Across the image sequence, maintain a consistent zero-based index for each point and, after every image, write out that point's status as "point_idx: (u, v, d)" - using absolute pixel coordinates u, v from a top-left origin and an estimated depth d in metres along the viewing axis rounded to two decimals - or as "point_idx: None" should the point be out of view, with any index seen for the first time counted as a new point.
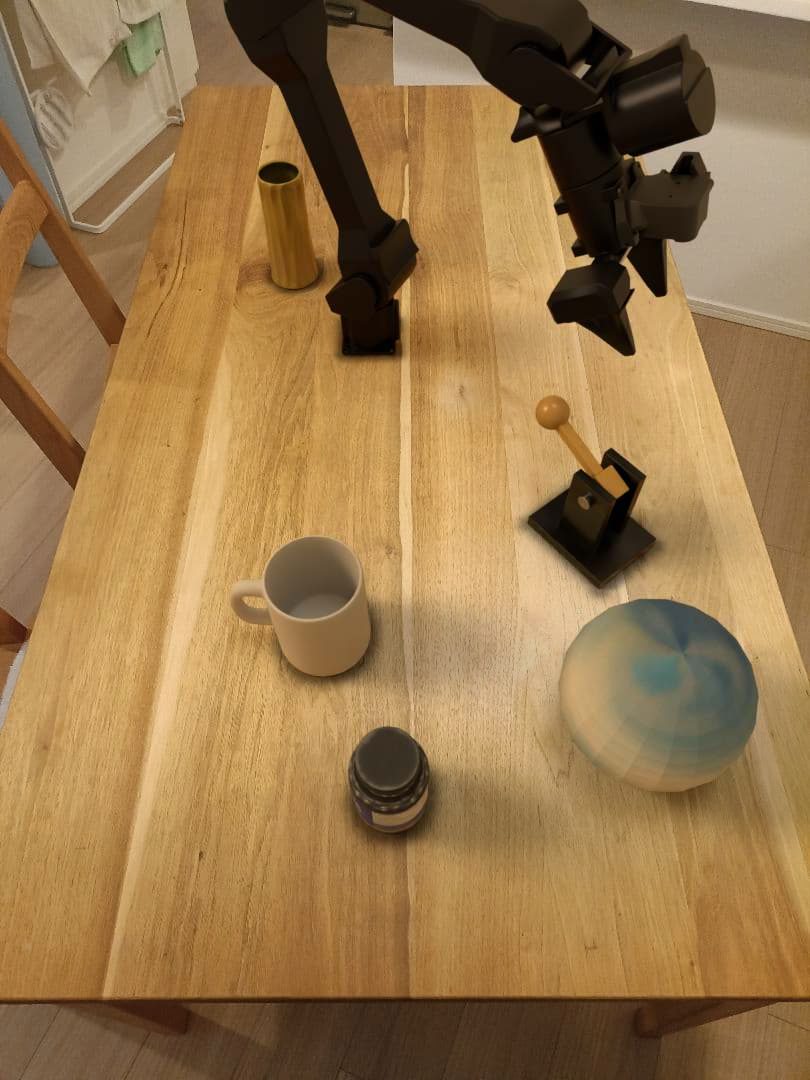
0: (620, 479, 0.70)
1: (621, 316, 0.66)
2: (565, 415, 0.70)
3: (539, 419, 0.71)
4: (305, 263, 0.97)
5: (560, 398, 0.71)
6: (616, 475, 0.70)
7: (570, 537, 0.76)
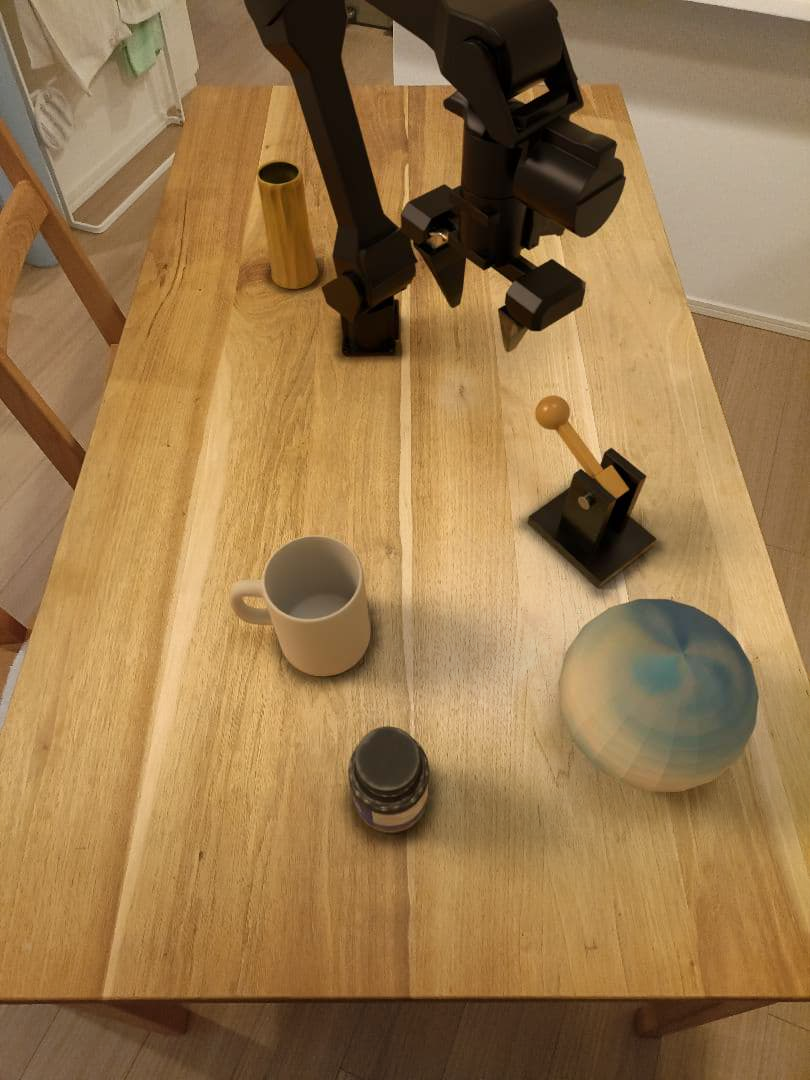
0: (620, 479, 0.70)
1: None
2: (565, 415, 0.70)
3: (539, 419, 0.71)
4: (305, 263, 0.97)
5: (560, 398, 0.71)
6: (616, 475, 0.70)
7: (570, 537, 0.76)
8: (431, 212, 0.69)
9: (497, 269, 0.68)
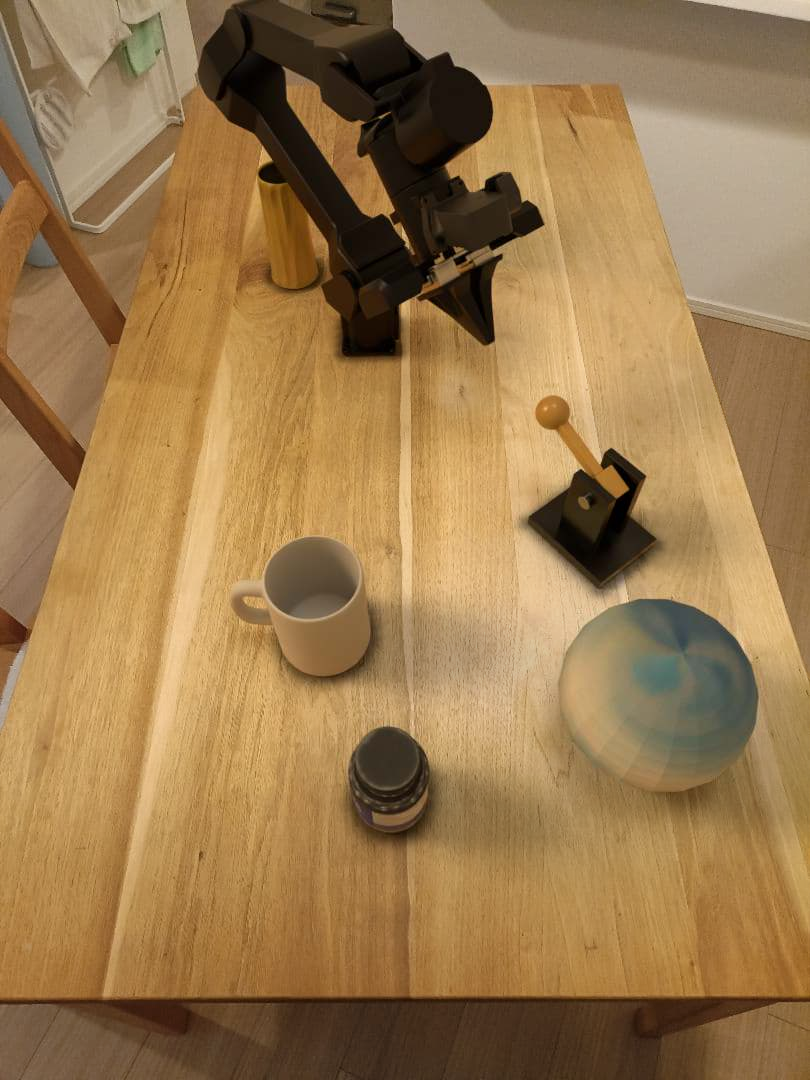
0: (620, 479, 0.70)
1: (461, 298, 0.70)
2: (565, 415, 0.70)
3: (539, 419, 0.71)
4: (305, 263, 0.97)
5: (560, 398, 0.71)
6: (616, 475, 0.70)
7: (570, 537, 0.76)
8: None
9: None
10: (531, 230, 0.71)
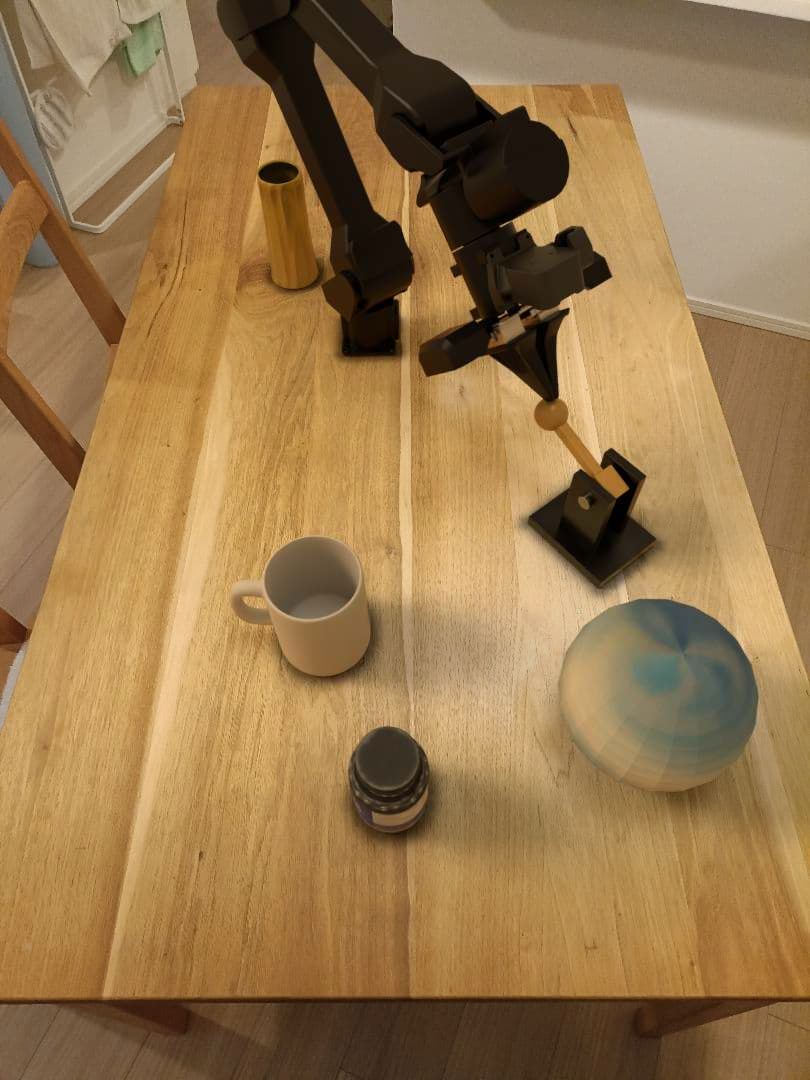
0: (620, 479, 0.70)
1: (525, 355, 0.67)
2: (564, 416, 0.71)
3: (538, 420, 0.71)
4: (305, 263, 0.97)
5: (558, 399, 0.71)
6: (616, 475, 0.70)
7: (570, 537, 0.76)
8: None
9: None
10: (599, 283, 0.68)
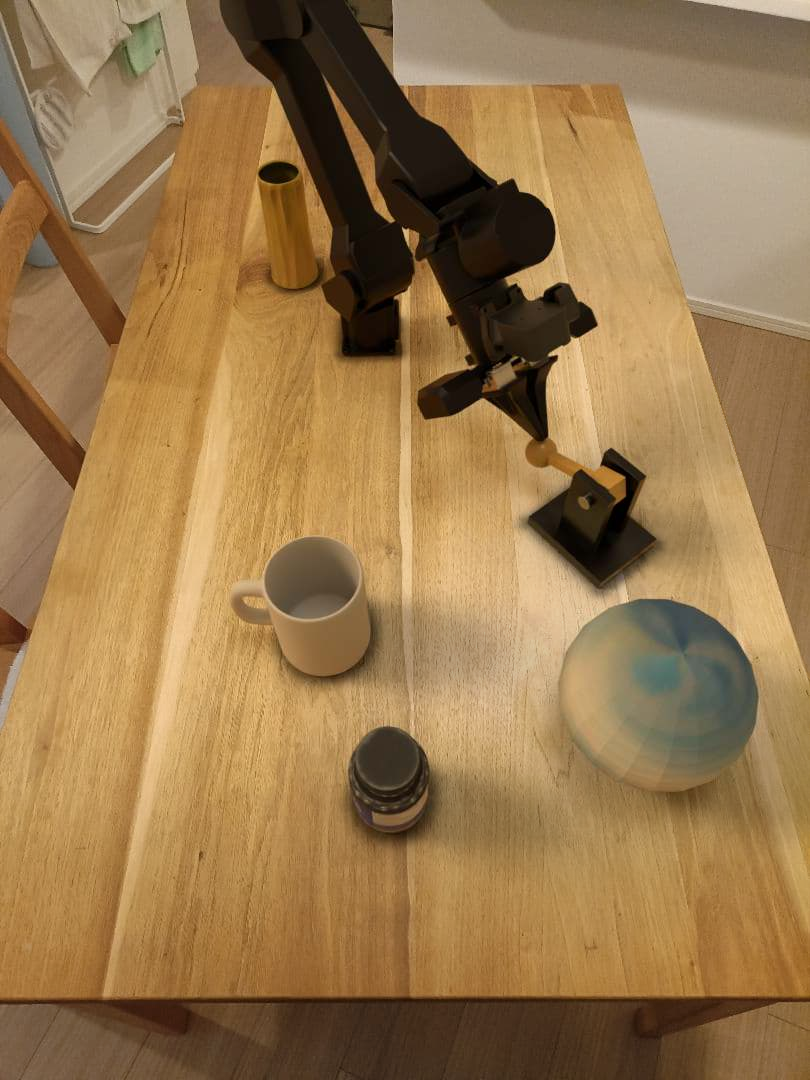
0: (614, 472, 0.71)
1: (517, 400, 0.72)
2: (548, 445, 0.75)
3: (528, 458, 0.76)
4: (305, 263, 0.97)
5: None
6: (609, 471, 0.71)
7: (570, 537, 0.76)
8: None
9: None
10: (585, 331, 0.73)
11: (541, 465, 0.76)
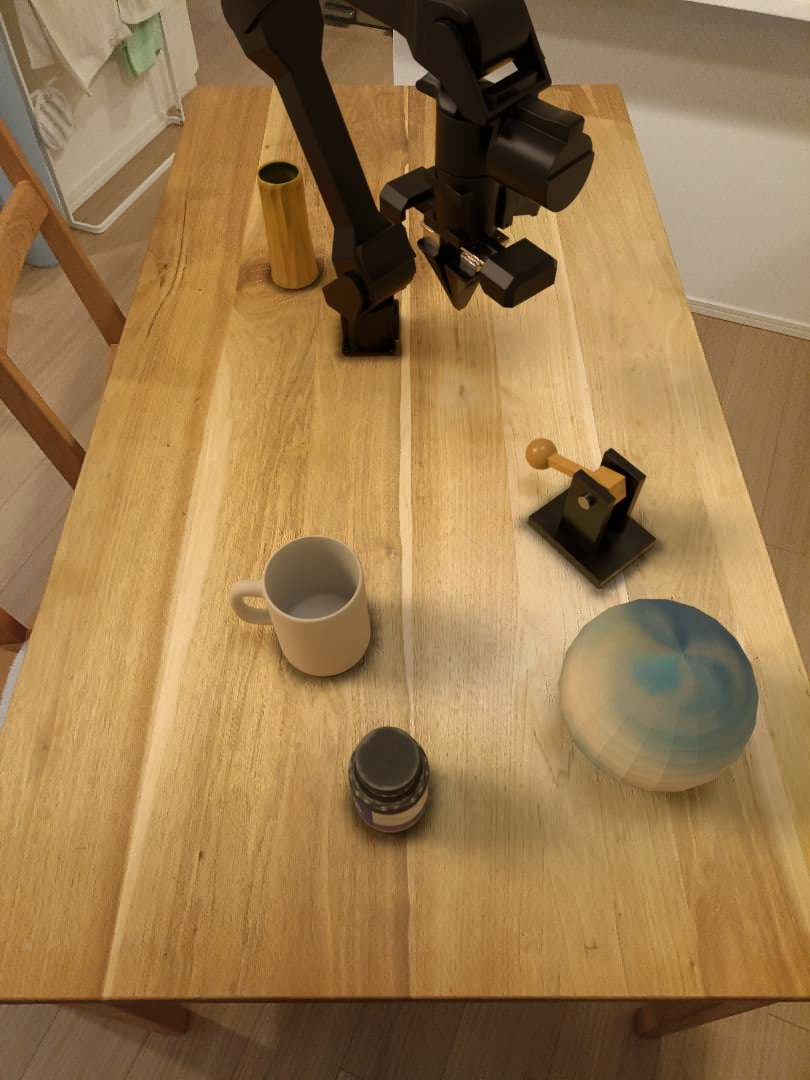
0: (613, 472, 0.71)
1: None
2: (548, 447, 0.76)
3: (528, 460, 0.77)
4: (305, 263, 0.97)
5: (541, 438, 0.77)
6: (608, 470, 0.71)
7: (570, 537, 0.76)
8: (408, 193, 0.71)
9: None
10: None
11: (541, 467, 0.76)
